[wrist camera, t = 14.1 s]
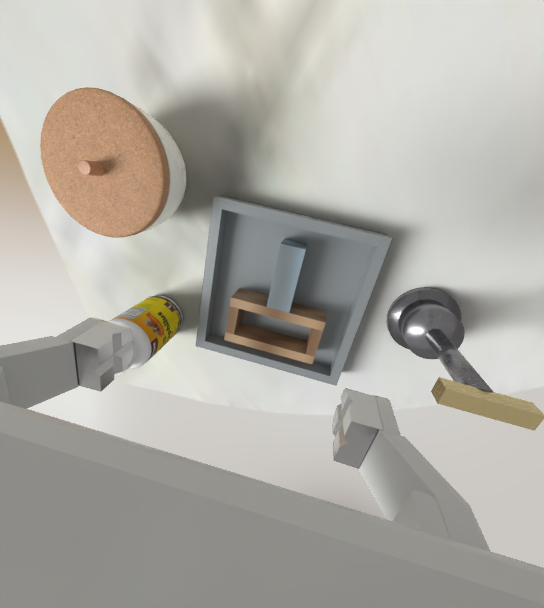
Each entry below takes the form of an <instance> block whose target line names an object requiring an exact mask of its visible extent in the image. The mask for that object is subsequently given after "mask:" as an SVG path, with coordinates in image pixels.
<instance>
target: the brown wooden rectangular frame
mask: <svg viewBox="0 0 544 608" xmlns="http://www.w3.org/2000/svg"><path fill="white" fill-rule="evenodd" d="M306 248H307V244H305V243H301V242H297V241H293V240H289V239H284V240H283V241H282V242H281V244H280V248H279V253H278V257H277V262H276V266H275V271H274V275H273V280H272V284H271V289H270V293H269V296H267V295H263V294H259V293H255V292H252V291H248V290H244V289H240V288H239V289H238V290H237V291H236V292H235V293H234V295H233V296H232V297H231V300H230V307H229V313H228V319H227V325H226V331H225V337H224V340H226V341H230V342H233V343H237V344H241V345H244V346H248V347H251V348H255V349H258V350H262V351H266V352H269V353H273V354H276V355H280V356H284V357H287V358H291V359H294V360H298V361H301V362H305V363H309V364H313V361H314V357H315V354H316V351H317V348H318V345H319V342H320V339H321V336H322V333H323V330H324V327H325V324H326V311H324V310H320V309H316V308H312V307H309V306H305V305H301V304H297V303H293V302H292V301H293V297H294V294H295V290H296V286H297V282H298V278H299V275H300V271H301V267H302V263H303V259H304V255H305V252H306ZM244 310H246V311H250V312H254V313H257V314H261V315H265V316H268V317H272V318H276V319H280V320H283V321H287V322H291V323H294V324H298V325H302V326H306V327H309V328H311V330H310V333H309V336H308V339H307V341H306V340H303V339H299V338H295V337H292V336H288V335H284V334H281V333H277V332H274V331H270V330H266V329H263V328H259V327H255V326H252V325H248V324H244V323H242V317H243V312H244Z"/></svg>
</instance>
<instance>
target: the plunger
mask: <svg viewBox="0 0 544 608" xmlns="http://www.w3.org/2000/svg"><path fill="white" fill-rule="evenodd" d="M387 327H388V330H389V332H390V334H391V336H392V338H393V339H394V340H395V341H396V342H397V343H398V344H399V345H401V346H403V347H405V348H407V349H410V350H411V351H412V352H413V353H414V354H416V355H417V356H419V357H422V358H426V359H440V361H441V362H442V364H443V365H444V367H445V368H446V370H447V371H448V373H449V374H450V376H451V377H452V379H453V380H454V381H455V382H454V381H451V380H447V379H443V378H440V377H439V378H438V380H437V382H436V383H435V385H434V387H433V389H432V391H431V392H432V394H433V396H434V397H435V399H436V401H437V403H438V404H442V405H445V406H449V407H453V408H456V409H460V410H463V411H467V412H470V413H474V414H477V415H482V416H485V417H488V418H492V419H495V420H499V421H503V422H506V423H510V424H513V425H517V426H520V427H524V428H528V429H531V430H535V429H536V428H537V427H538V425H539V424H540V423H541V422H542V420H543V419H544V414H543V413H542V412H541V411H540V410H539V409H538V408H537V407H536V406H535V405H534V404H533V403H532V402H528V401H524V400H521V399H517V398H513V397H510V396H506V395H502V394H499V393H495V392H493V391H492V390H491V388H490V387H489V386H488V385H487V384H486V383H485V381H484V380H483V379H482V378H481V377H480V375H479V374H478V373H477V372H476V371H475V369H474V368H473V367H472V366H471V365H470V363H469V362H468V361H467V360H466V359H465V358H464V356H463V355H462V354H461V353H460V352H459V350H458V348H459V347H460V345H461V344H462V342H463V339H464V327H463V325H462V323H461V312H460V308H459V306H458V304H457V303H456V302H455V300H454V299H453V298H451V297H450V296H449V295H448V294H446V293H445V292H443V291H441V290H438V289H435V288H427V287H425V288H417V289H413V290H410V291H408V292H406V293H404V294H402V295H401V296H399V297H398V298H397V299H396V300H395V301H394V302H393V304H392V305H391V307H390V309H389V311H388V314H387Z"/></svg>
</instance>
